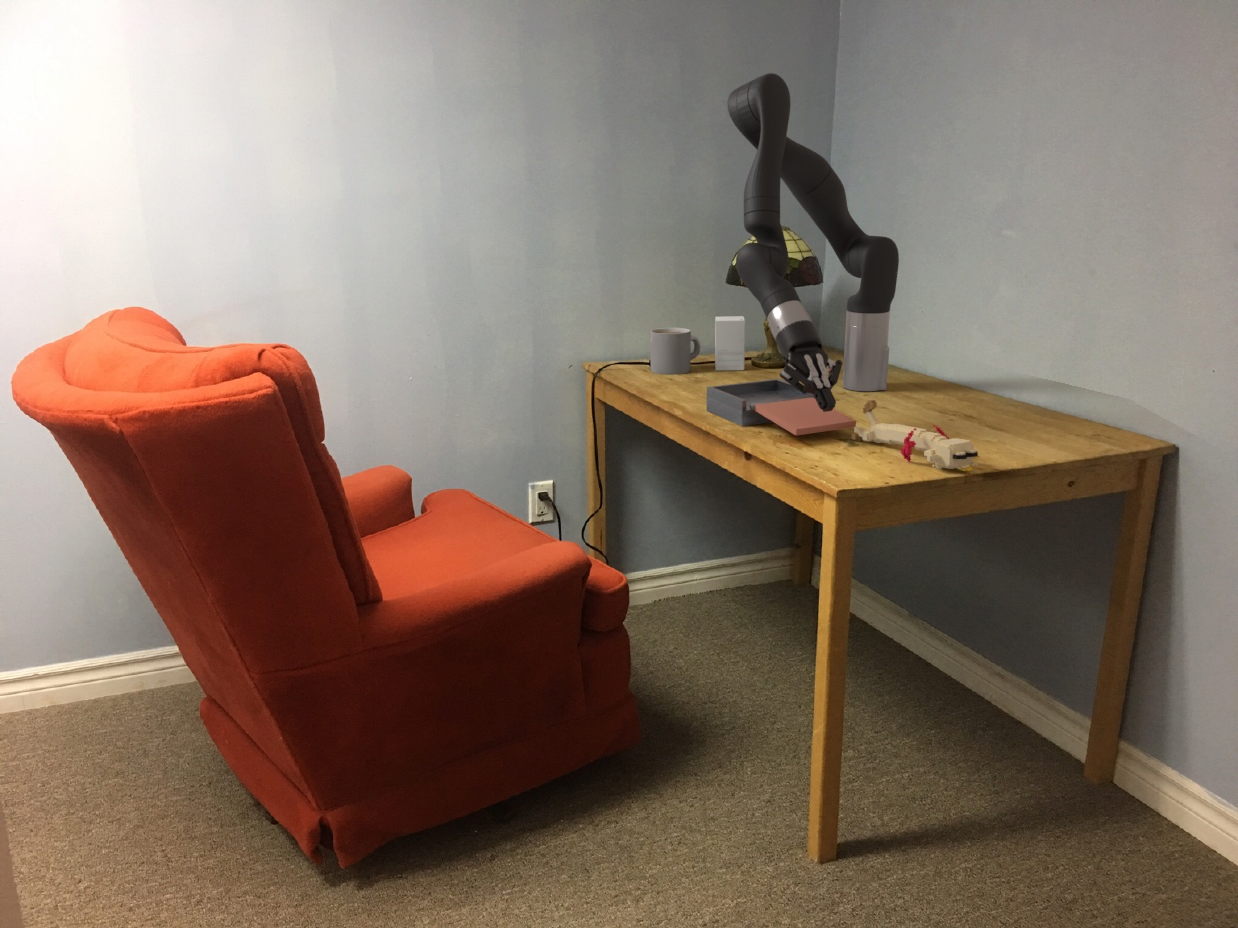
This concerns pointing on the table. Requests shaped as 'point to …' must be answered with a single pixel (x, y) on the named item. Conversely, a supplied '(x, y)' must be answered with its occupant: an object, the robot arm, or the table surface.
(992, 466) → the table surface
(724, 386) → the grey open box
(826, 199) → the robot arm
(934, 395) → the table surface
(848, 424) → the flat pink square board
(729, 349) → the supplement box
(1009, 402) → the table surface
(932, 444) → the cream blocky figure
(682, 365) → the coffee mug
